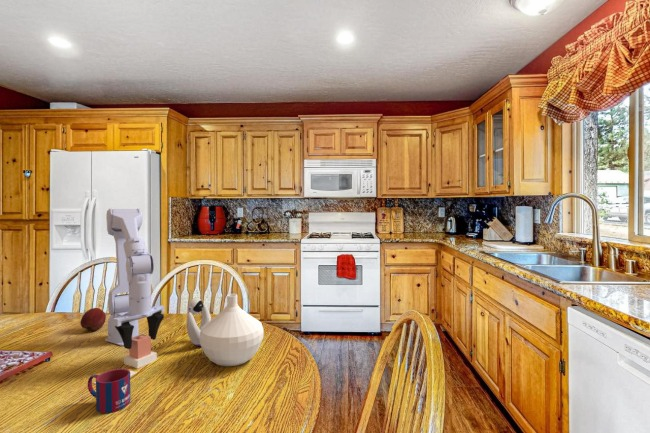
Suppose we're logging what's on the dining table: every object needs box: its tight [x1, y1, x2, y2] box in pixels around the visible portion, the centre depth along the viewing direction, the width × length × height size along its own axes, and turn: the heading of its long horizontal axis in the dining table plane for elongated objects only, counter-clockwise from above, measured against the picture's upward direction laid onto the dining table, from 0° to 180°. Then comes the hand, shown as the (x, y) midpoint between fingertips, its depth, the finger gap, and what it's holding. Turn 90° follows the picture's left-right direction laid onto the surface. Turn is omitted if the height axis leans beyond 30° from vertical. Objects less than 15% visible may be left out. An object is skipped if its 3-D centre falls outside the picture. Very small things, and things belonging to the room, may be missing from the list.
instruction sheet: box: [93, 370, 138, 385], centre depth 91 cm, size 6×8×1 cm
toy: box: [186, 297, 212, 347], centre depth 113 cm, size 11×7×15 cm, turn 168°
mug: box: [87, 368, 131, 414], centre depth 80 cm, size 7×10×7 cm
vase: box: [200, 293, 265, 367], centre depth 103 cm, size 18×18×19 cm
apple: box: [80, 307, 107, 332], centre depth 125 cm, size 7×8×8 cm
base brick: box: [123, 350, 158, 369], centre depth 101 cm, size 6×6×2 cm
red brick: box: [128, 333, 152, 359], centre depth 100 cm, size 4×4×5 cm
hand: (140, 343), depth 101 cm, fingers open, 7 cm apart
